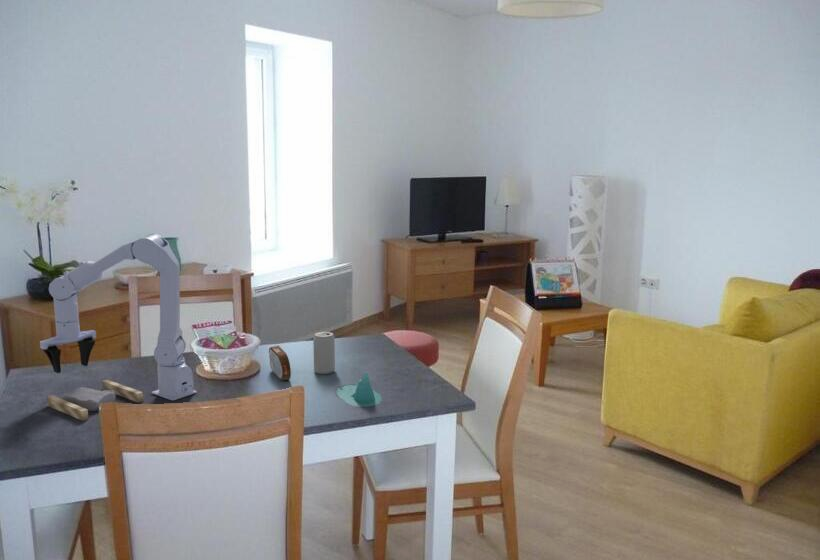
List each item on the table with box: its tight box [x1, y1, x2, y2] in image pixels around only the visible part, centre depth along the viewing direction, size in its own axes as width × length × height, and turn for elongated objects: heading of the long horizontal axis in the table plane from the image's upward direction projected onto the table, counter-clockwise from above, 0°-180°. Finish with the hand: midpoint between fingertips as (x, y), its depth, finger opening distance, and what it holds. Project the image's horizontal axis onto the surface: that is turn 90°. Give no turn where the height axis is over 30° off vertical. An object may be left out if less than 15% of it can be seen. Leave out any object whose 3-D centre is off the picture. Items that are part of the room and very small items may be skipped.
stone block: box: [60, 386, 117, 412], centre depth 184 cm, size 12×5×10 cm
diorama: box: [336, 371, 383, 408], centre depth 192 cm, size 12×20×9 cm, turn 26°
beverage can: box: [312, 331, 336, 375], centre depth 211 cm, size 6×6×12 cm
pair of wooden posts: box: [46, 379, 144, 422], centre depth 184 cm, size 17×17×2 cm
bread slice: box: [268, 345, 292, 381], centre depth 207 cm, size 15×3×8 cm, turn 26°
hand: (71, 368), depth 189 cm, fingers open, 7 cm apart
